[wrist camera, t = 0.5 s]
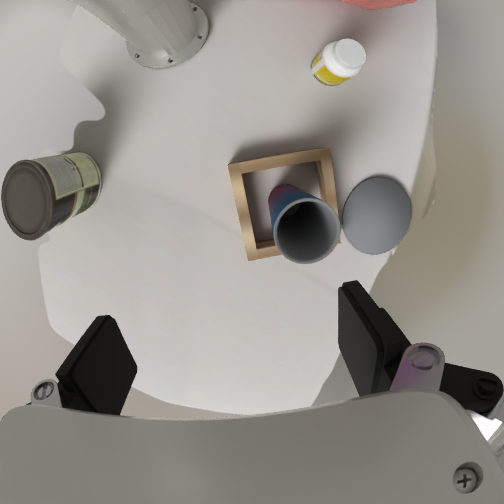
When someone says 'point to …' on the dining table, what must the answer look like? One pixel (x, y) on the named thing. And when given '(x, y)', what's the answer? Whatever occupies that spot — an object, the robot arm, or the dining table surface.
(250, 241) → the socket
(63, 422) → the robot arm
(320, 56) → the supplement bottle
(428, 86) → the dining table surface
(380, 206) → the disc
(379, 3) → the cell model
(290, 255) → the cup
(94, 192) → the coffee can
